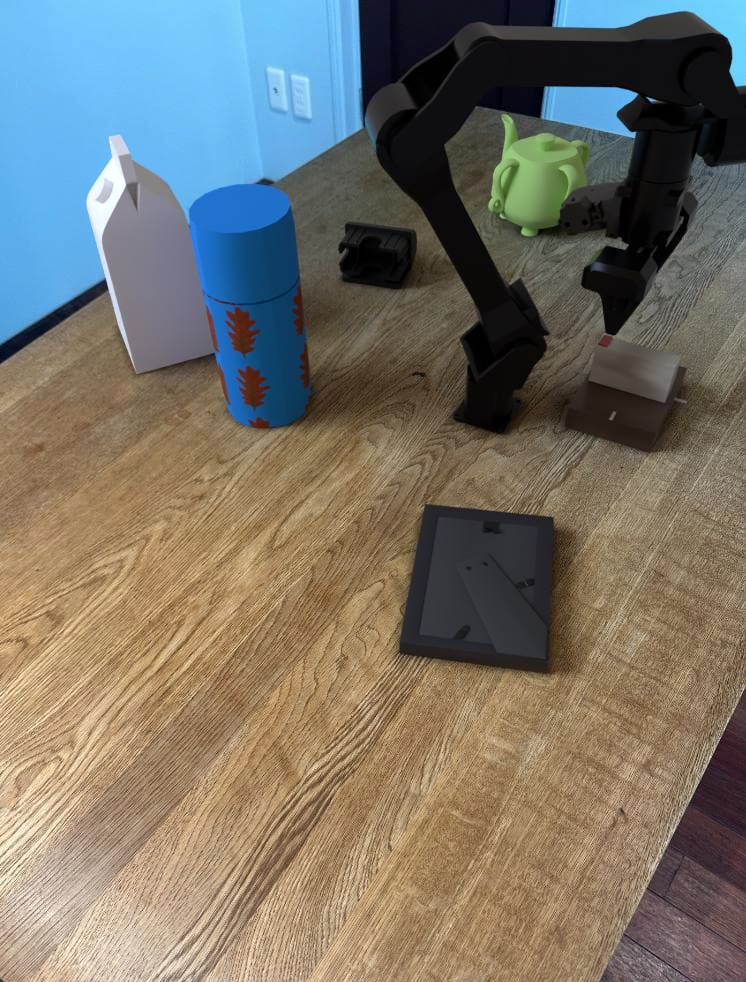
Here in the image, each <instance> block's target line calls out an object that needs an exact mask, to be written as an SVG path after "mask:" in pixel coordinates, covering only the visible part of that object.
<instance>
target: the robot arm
mask: <svg viewBox="0 0 746 982" xmlns="http://www.w3.org/2000/svg"><path fill="white" fill-rule="evenodd" d="M733 58H734V57H733V47H732V45H731V42H730V40H729V38H728V37H726V36H725V35H724V34H723V33H721V31H719V30H717V29H716V28H715V27H713V26H712V25H711V24H709V23H708V22H706V21H705V20H704V19H703V18H702V17H700V16H699V15H697V14H696V13H695V12H691V11H688V10H681V11H680V10H679V11H674V12H668V13H662V14H657V15H651V16H647V17H644V18H642V19H640V20H638V21H636V22H633V23H632V24H629V25H624V26H618V27H578V26H577V27H575V26H533V25H532V26H531V25H530V26H529V25H528V26H527V25H524V26H523V25H492V24H489V23H486V22H483V21H476V22H471V23H469V24H467V25H465V26H464V27H462V28H461V29H460V30H459V31H458V32H457V33H456V34H455V35H454V36H452V38H451V39H450V40H449V41H448V42H447V43H446V44H445V45H443V46H442V47H440V48H439V49H437V50H435V51H434V52H432V53H431V54H429V55H428V56H426V57H424V58H423V59H421V60H420V61H418V62H416V63H415V64H413V66H411V67H410V69H409V70H408V71H407V72H406V73H404V74H403V75H402V77H400V79H399V80H397V82H395V83H389V84H387V85H385V86H384V87H381V88H380V89H379V90H378V91H377V92H375V94H374V95H373V96H372V98H371V99H370V101H369V103H368V104H367V107H366V111H365V116H364V124H365V127H366V130H367V133H368V136H369V138H370V139H369V140H370V141H371V144H372V147H373V150H374V152H375V155H376V158H377V160H378V163H379V165H380V167H381V169H383V171H385V173H386V174H387V175H388V176H389V177H390V178H391V179H392V181H393V182H394V183H395V185H397V187H398V188H399V189H400V190H401V191H402V192H403V193H404V194H405V195H406V196H407V197H408V198H410V199H411V200H412V201H413V202H414V203H415V204H416V205H417V206H418V207H419V208H420V209H421V211H422V213H423V214H424V216H425V218H426V219H427V221H428V223H429V225H430V227H431V228H432V230H433V232H434V234H435V236H436V237H437V239H438V241H439V243H440V245H441V246H442V248H443V250H444V251H445V254H446V255H447V257H448V258H449V259H448V260H450V262H451V264H452V266H453V267H454V269H455V271H456V273H457V275H458V276H459V278H460V280H461V281H462V284H463V285H464V287H465V289H466V291H467V292H468V294H469V296H470V298H471V300H472V301H473V305H474V310H475V312H476V313H475V314H476V316H477V321H476V322H475V323H474V324H473V325H472V326H471V327H470V328H468V330H466V331H465V332H464V333H463V334H462V335H461V336H460V337H459V341H460V344H461V346H462V347H461V348H462V349H463V352H464V354H465V356H466V359H467V361H468V364H467V367H466V373H465V374H466V375H465V388H464V389H465V390H464V398H463V400H462V401H461V402H460V403H459V405H458V407H457V408H456V409H455V411H454V412H453V414H452V419H453V420H455V421H456V422H457V421H458V422H461V423H462V424H466V425H470V426H473V427H476V428H479V429H481V430H485V431H489V432H490V433H491V432H492V433H495V434H498V435H502V434H504V433H505V432H506V431H507V429H508V427H509V426H510V424H511V423H512V421H513V420H514V418H515V417H516V415H517V414H518V412H519V410H520V409H521V408H522V407H523V403H524V402H523V400H522V399H521V398H518V397H515V392H516V391H521V390H522V389H523V388H524V386H525V384H526V382H527V381H528V379H529V377H530V375H531V374H532V372H533V370H534V368H535V366H536V365H537V364H538V363H539V362H540V361H541V360H542V359H543V357H544V354H545V353H546V352H547V351H548V343H547V340H546V338H545V337H549V336H551V333H550V331H549V329H548V326H547V325H546V323H545V321H544V319H543V317H542V315H541V314H540V312H539V309H538V308H537V305H536V303H535V301H534V300H533V298H532V296H531V294H530V292H529V290H528V287H527V286H526V285H525V282H524V280H523V279H522V277H519V278H517V279H516V280H515V281H513V282H512V283H511V284H510V283H509V282H508V281H507V280H505V279H504V277H502V275H501V273H500V271H499V269H498V266H496V263H495V262H494V260H493V258H492V256H491V254H490V252H489V249H488V248H487V246H486V244H485V242H484V240H483V238H482V237H481V235H480V232H479V231H478V228H477V227H476V225H475V223H474V221H473V219H472V216H471V215H470V213H469V211H468V209H467V208H466V206H465V203H464V201H463V200H462V198H461V195H460V194H459V192H458V189H457V188H456V186H455V183H454V179H453V175H452V169H451V165H450V161H449V157H448V154H447V150H446V146H445V145H446V144H447V143H448V142H449V141H450V140H451V139H453V138H454V137H455V136H456V135H457V134H458V133H459V131H460V130H461V129H462V128H463V126H464V125H465V124H466V122H467V120H468V119H469V117H470V116H471V115H472V113H473V111H474V110H475V109H476V107H477V106H478V104H479V103H480V101H481V100H482V99H483V98H484V97H485V96H486V95H487V94H488V93H489V92H490V91H491V90H493V88H494V87H531V88H532V87H537V88H539V87H543V88H548V87H549V88H560V87H561V88H617V89H621V90H626V91H629V92H633V93H634V94H637V95H636V96H635V98H633V99H632V100H631V101H630V102H628V103H626V104H624V106H622V107H621V108H620V109H618V110H617V112H616V116H615V117H616V118H617V119H618V120H619V121H620V122H621V124H622V125H623V126H624V127H625V128H626V130H628V131H629V133H635V134H634V139H633V145H632V148H631V154H630V159H629V163H628V166H627V167H628V168H627V172H626V176H625V178H624V179H623V180H622V181H618V182H616V181H610V182H605V183H597V184H592V185H587V186H585V187H580V188H577V189H575V190H573V191H572V192H571V193H570V195H569V196H568V197H567V198H566V199H565V200H564V202H563V203H562V204H561V209H560V218H559V220H558V225H557V226H558V227H561V228H562V230H563V232H564V233H565V234H566V235H567V236H571V237H572V236H577V235H578V234H583V233H588V232H596V231H604V230H605V232H604V238H608V239H613V240H618V238H619V239H620V241H621V242H622V243H623V244H626V245H627V247H626V248H625V249H624V248H619V247H615V246H611V245H608V244H607V245H604V246H603V247H602V248H600V249H598V250H596V251H595V252H594V254H593V255H592V256H591V257H590V259H589V260H588V261H587V263H586V264H585V265H584V267H583V269H582V270H583V271H582V276H581V282H580V286H581V287H582V288H583V289H584V290H588V291H591V292H593V293H597V294H598V296H599V297H600V301H601V308H602V315H603V325H604V332H605V335H608V336H612V337H613V336H616V335H617V334H618V333H619V332H620V330H621V329H622V328H623V327H624V325H625V324H626V322H627V321H628V320H629V319H630V317H631V316H632V315H633V314H634V312H635V311H636V310H637V308H639V307H640V305H641V303H642V302H643V301H644V300H645V299H646V297H647V296H648V294H649V292H650V291H651V290H652V287H653V283H654V281H655V278H656V276H657V274H658V273H659V271H661V269H662V268H663V266H664V265H665V263H666V262H667V260H668V259H669V258H670V257H671V255H672V254H673V252H674V251H675V250H676V248H677V247H678V246H679V244H680V243H681V242H682V240H683V239H684V237H685V235H686V234H687V232H688V231H689V228H690V226H691V225H692V223H693V221H694V220H695V217H696V213H697V210H698V206H699V201H698V199H697V198H696V196H695V195H694V193H693V192H691V191H689V190H690V189H691V186H692V183H693V179H694V175H691V173H692V170H693V166H694V162H695V158H696V156H698V157H700V158H702V160H703V163H704V164H705V166H707V167H709V168H718V167H727V166H736V165H745V164H746V84H745V85H738V86H737V85H736V83H735V81H734V78H733V76H732V74H731V68H732V63H733V60H734V59H733ZM696 154H697V155H696Z"/></svg>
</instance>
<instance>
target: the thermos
mask: <svg viewBox="0 0 746 982" xmlns="http://www.w3.org/2000/svg"><path fill="white" fill-rule="evenodd" d="M188 218H189V220H188V221H189V227H190V234H191V239H192V244H193V249H194V254H195V259H196V263H197V268H198V273H199V278H200V283H201V287H202V292H203V297H204V302H205V307H206V312H207V317H208V321H209V326H210V331H211V336H212V341H213V346H214V350H215V353H214V354H215V360H216V364H217V369H218V375H219V379H220V384H221V388H222V391H223V396H224V399H225V402H226V406H227V410H228V412H229V414H230V415H231V416H232V418H233V419H234V421H237V422H239V423H240V424H242V425H243V426H247V427H252V428H256V429H274V428H278V427H282V426H286V425H289V424H291V423H293V422H294V421H297V420H298V419H300V418H301V417H302V416H303V415H305V413H306V412H307V411H308V409H309V407H310V405H311V402H312V390H311V389H312V387H311V371H310V370H311V369H310V360H309V350H308V342H307V341H308V340H307V332H306V322H305V320H306V319H305V311H304V303H303V295H302V294H303V291H302V283H301V273H300V272H301V271H300V264H299V254H298V243H297V234H296V225H295V218H294V214H293V209H292V205H291V201H290V196H288V195H287V194H286V193H285V192H284V191H282V190H281V189H279V188H276V187H274V186H271V185H267V184H266V185H265V184H260V183H259V184H258V183H238V184H237V183H236V184H231V185H227V186H221V187H218V188H215V189H213V190H211V191H208V192H206V193H203V194H202V195H201V196H200V197H198V198H197V199H194V201H193V203H192V204H191V205H190V207H189V209H188Z"/></svg>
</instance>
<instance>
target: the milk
mask: <svg viewBox="0 0 746 982" xmlns="http://www.w3.org/2000/svg"><path fill="white" fill-rule="evenodd" d="M108 139H109V140H108V142H109V146H110V147H109V148H110V153H111V158H110V160H109V161H108V162H107V164H106V166H105V167H104V169H103V170H102V172H101V173H100V175H99V176H98V177H97V179H96V181H95V182H94V183H93V185H92V187H91V188H90V190H89V192H88V195H87V196H86V203H85V204H86V210H87V214H88V217H89V221H90V224H91V228H92V232H93V235H94V240H95V243H96V246H97V251H98V254H99V258H100V262H101V266H102V269H103V273H104V277H105V281H106V284H107V288H108V292H109V295H110V298H111V303H112V306H113V310H114V314H115V317H116V321H117V326H118V328H119V331H120V333H121V334H120V335H121V336H122V339H123V342H124V344H125V347H126V349H127V352H128V355H129V358H130V360H131V364H132V365H133V368H134V371H135V373H136V375H140V374H143V373H147V372H151V371H155V370H159V369H161V368H165V367H169V366H173V365H176V364H179V363H184V362H186V361H190V360H194V359H197V358H201V357H205V356H209V355H212V354H215V350H214V346H213V341H212V336H211V331H210V326H209V321H208V317H207V312H206V307H205V302H204V297H203V292H202V287H201V283H200V278H199V273H198V268H197V263H196V259H195V254H194V249H193V244H192V239H191V234H190V223H189V222H188V219H187V217H186V213H185V211H184V209H183V207H182V205H181V204H180V202H179V200H178V199H177V196H176V195H175V193H174V192H173V189H172V188H171V186H170V184H169V183H168V182H166V181H165V180H164V179H163V178H162V177H160V176H159V174H156V173H155V172H153V171H152V170H150V169H148V168H146V167H145V166H143V165H141V164H140V163H138V162H136V161H135V160H133V158H132V154H131V152H130V151H129V148H128V146H127V144H126V143H125V141H124V138H123V137H122V135H121V134H114V135H109V136H108Z"/></svg>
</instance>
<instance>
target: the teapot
mask: <svg viewBox="0 0 746 982" xmlns="http://www.w3.org/2000/svg"><path fill="white" fill-rule="evenodd" d="M501 120H502V122H503V126H504V131H505V133H504V135H505V136H504V143H503V148H502V155H501V160H500V162H499V163H498V164H497V166H496V167H495V169H494V170H493V174H492V186H491V191H490V192H491V194H490V195H491V198H490V200H489V202H488V204H487V205H488V210H489V211H490V213H492V214H499V217H500V218H501V219H502V220H507V221H509V222H511V223H513V224H514V225H517V226H519V227H522V228H521V231H520V232H521V235H522V236H526V237H535V236H537V235H538V233H539V230H542V229H548V228H552V227H556V226H559V225H558V220H559V218H560V209H561V204H562V203H563V202H564V200H565V199H566V198H567V197H568V196H569V195H570V193H571V192H572V191H573V190H575V189H577V188H580V187H585V186H588V182H587V181H588V178H587V174H586V171H585V169H586V167H587V165H588V162H589V159H590V155H591V148H590V146H589V144H588V143H587V142H585V141H584V140H580V139H576V140H572V141H570V142H569V141H568V140H566V139H564V138H561V137H558V136H556V135H555V134H553V133H551V132H550V133H549V132H542V133H538V134H536V135H533V136H529V137H524V138H522V139H519V137H518V132H517V127H516V124H515V121H514V120H513V118H512V117H511V116H509V115H508V114H506V113H503V114H501ZM578 149H580V151H579V150H578Z"/></svg>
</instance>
